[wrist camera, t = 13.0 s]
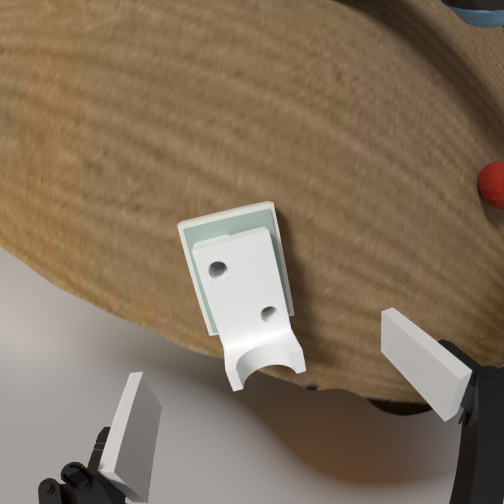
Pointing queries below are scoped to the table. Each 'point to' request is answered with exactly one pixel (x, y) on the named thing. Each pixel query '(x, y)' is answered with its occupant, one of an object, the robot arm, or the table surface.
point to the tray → (231, 225)
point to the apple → (492, 184)
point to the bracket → (247, 303)
